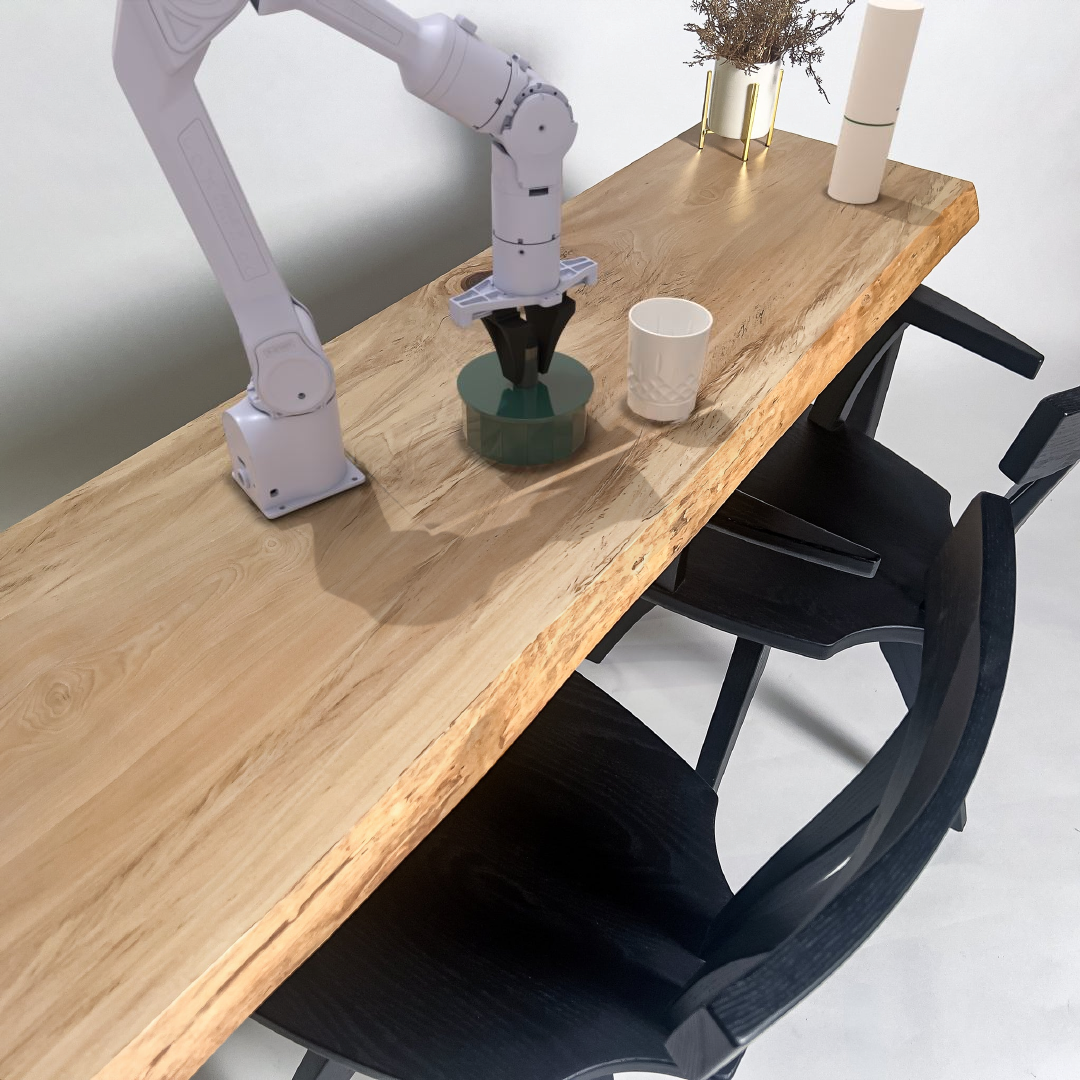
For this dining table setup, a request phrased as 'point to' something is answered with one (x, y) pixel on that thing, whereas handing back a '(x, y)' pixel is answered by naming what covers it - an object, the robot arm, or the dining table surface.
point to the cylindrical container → (874, 98)
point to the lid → (526, 388)
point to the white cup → (666, 357)
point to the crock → (524, 438)
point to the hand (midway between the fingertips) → (525, 374)
